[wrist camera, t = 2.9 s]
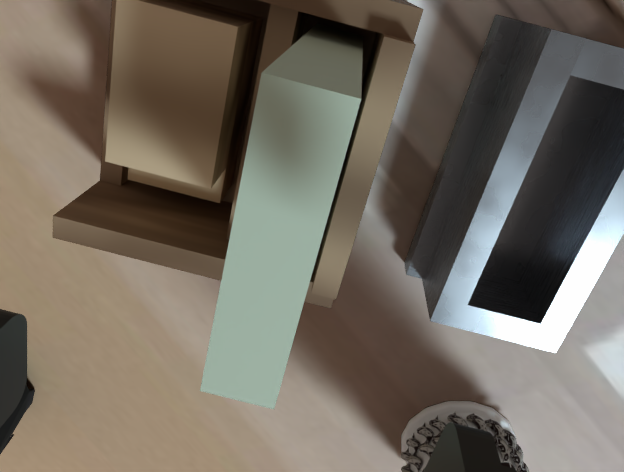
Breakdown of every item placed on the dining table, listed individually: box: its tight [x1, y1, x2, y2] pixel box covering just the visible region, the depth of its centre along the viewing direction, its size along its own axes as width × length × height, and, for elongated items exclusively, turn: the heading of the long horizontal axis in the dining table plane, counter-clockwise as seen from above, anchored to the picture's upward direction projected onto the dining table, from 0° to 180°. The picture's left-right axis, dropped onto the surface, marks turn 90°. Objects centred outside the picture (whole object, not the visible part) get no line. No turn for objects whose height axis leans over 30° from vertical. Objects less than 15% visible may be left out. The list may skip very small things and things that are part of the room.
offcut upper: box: [105, 0, 252, 189], centre depth 24 cm, size 7×5×3 cm
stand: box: [405, 15, 624, 353], centre depth 28 cm, size 15×9×6 cm, turn 166°
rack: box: [53, 0, 423, 309], centre depth 26 cm, size 14×14×9 cm
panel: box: [200, 24, 363, 409], centre depth 22 cm, size 10×2×16 cm, turn 166°
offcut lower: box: [128, 0, 263, 203], centre depth 27 cm, size 9×5×3 cm, turn 166°
